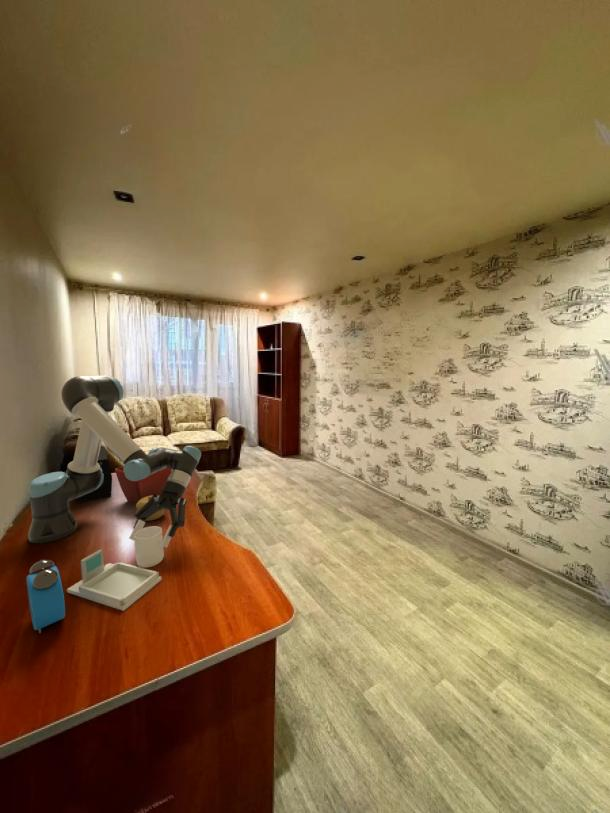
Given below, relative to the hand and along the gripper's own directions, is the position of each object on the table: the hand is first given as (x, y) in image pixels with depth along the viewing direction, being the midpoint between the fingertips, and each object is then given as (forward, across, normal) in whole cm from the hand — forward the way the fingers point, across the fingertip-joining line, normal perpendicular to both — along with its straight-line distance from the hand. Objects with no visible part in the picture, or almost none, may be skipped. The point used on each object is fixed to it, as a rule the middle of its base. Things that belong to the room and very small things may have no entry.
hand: (147, 543), depth 106 cm
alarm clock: (+25, +3, +16) cm, 30 cm away
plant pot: (-24, +42, -32) cm, 58 cm away
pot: (-13, +24, -22) cm, 34 cm away
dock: (+14, -1, +6) cm, 15 cm away
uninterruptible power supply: (-24, +79, -32) cm, 89 cm away
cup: (+4, +1, -4) cm, 6 cm away
